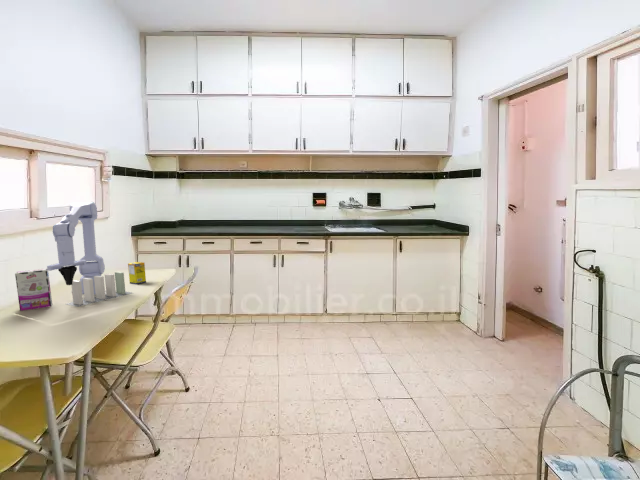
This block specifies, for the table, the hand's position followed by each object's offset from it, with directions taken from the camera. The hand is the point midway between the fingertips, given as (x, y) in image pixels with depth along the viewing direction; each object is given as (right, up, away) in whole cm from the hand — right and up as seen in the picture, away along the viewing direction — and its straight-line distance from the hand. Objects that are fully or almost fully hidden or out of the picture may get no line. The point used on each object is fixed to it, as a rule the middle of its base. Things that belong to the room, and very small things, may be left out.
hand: (69, 284), depth 172 cm
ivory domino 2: (+2, -8, +12) cm, 15 cm away
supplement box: (+7, -5, +49) cm, 50 cm away
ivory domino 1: (-1, -9, +8) cm, 12 cm away
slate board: (+4, -8, +16) cm, 19 cm away
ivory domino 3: (+4, -8, +16) cm, 19 cm away
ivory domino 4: (+7, -7, +21) cm, 23 cm away
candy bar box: (-16, -11, +4) cm, 20 cm away
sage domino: (+9, -7, +25) cm, 27 cm away
